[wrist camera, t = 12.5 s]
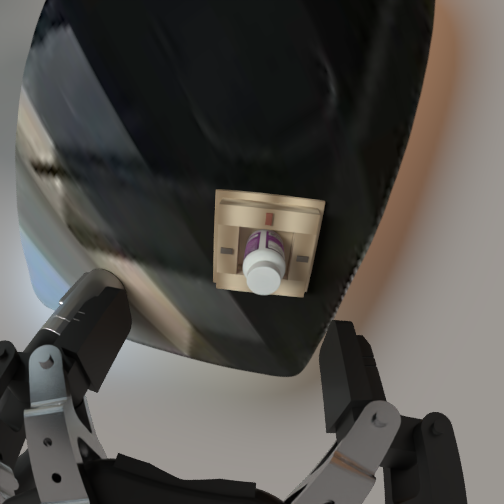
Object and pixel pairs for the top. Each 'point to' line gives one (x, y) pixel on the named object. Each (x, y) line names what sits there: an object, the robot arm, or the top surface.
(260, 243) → the pill bottle
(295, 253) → the holder
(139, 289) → the top surface
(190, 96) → the top surface
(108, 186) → the top surface
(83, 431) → the robot arm
